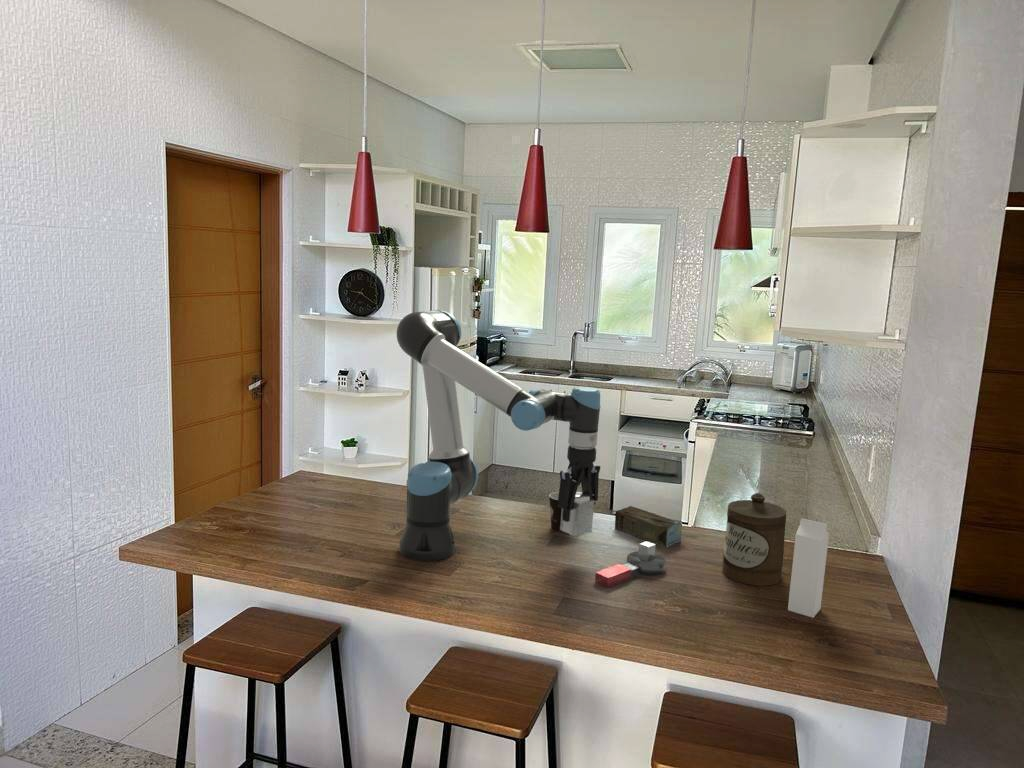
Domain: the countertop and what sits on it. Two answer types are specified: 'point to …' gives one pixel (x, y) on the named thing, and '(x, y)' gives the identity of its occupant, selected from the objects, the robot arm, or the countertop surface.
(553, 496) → the coffee mug
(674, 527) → the beverage carton
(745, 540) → the wooden container
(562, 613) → the countertop surface
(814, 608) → the milk
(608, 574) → the ratchet
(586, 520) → the grey faceted jar
